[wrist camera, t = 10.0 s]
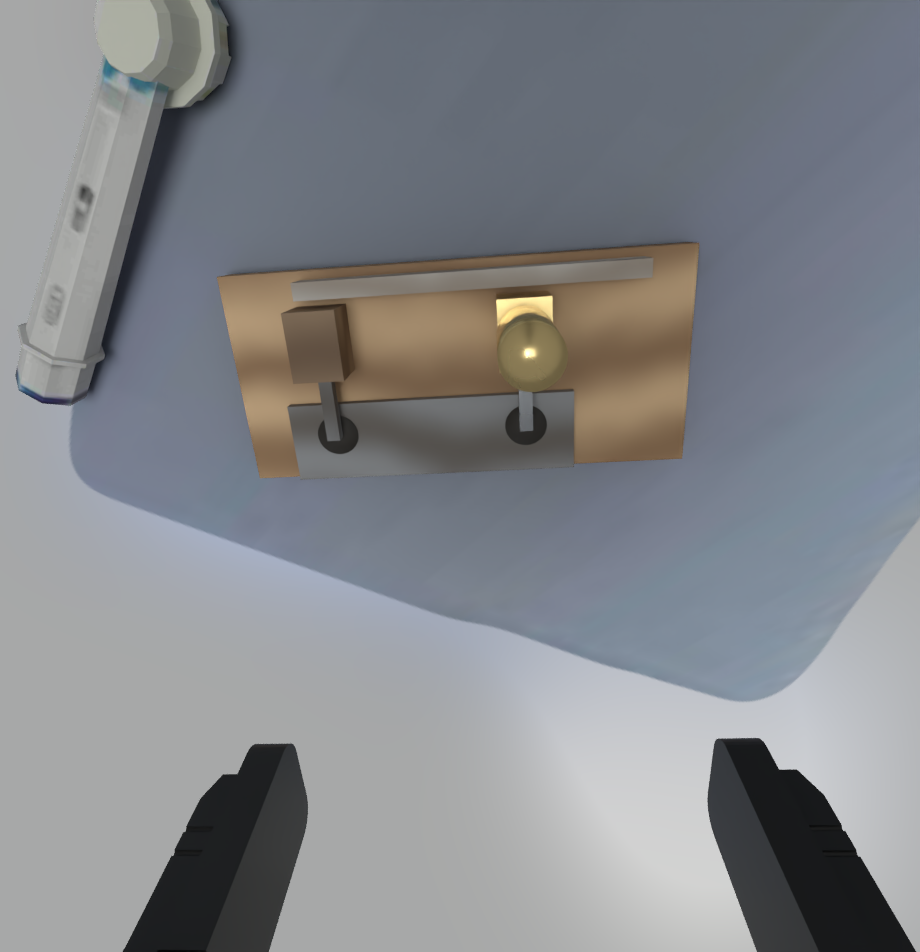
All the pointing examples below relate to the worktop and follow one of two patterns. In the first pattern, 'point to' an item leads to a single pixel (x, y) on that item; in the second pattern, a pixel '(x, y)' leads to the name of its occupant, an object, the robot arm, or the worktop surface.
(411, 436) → the board
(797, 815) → the robot arm
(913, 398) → the worktop surface
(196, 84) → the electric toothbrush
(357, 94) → the worktop surface
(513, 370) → the gold l-shaped piece
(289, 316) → the brown block with stem
